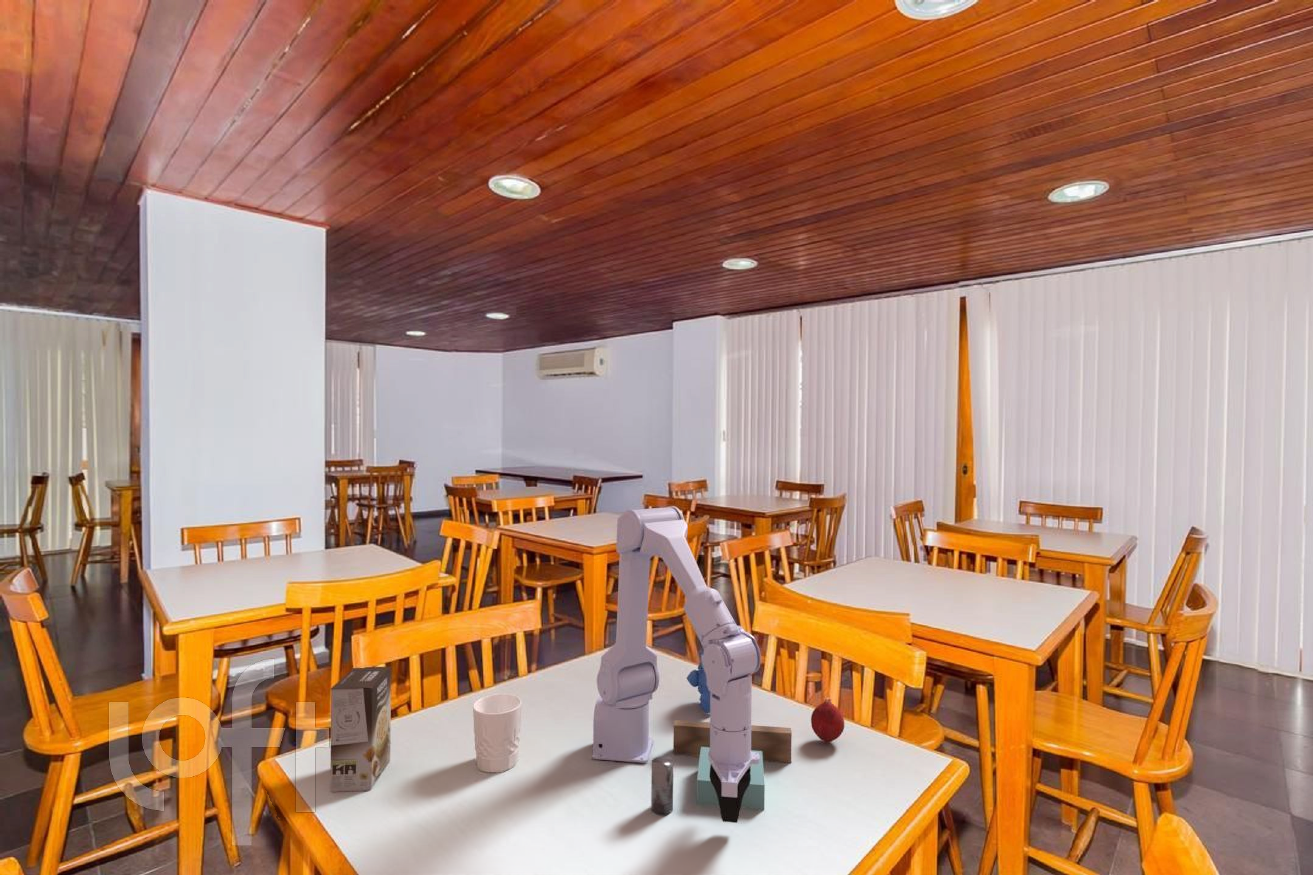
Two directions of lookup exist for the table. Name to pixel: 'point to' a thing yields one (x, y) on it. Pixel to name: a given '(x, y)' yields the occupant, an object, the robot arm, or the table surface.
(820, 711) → the onion
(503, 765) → the white cup
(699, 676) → the grapes
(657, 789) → the dowel
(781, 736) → the wall
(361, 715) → the coffee box
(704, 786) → the block
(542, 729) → the table surface
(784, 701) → the table surface
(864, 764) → the table surface
